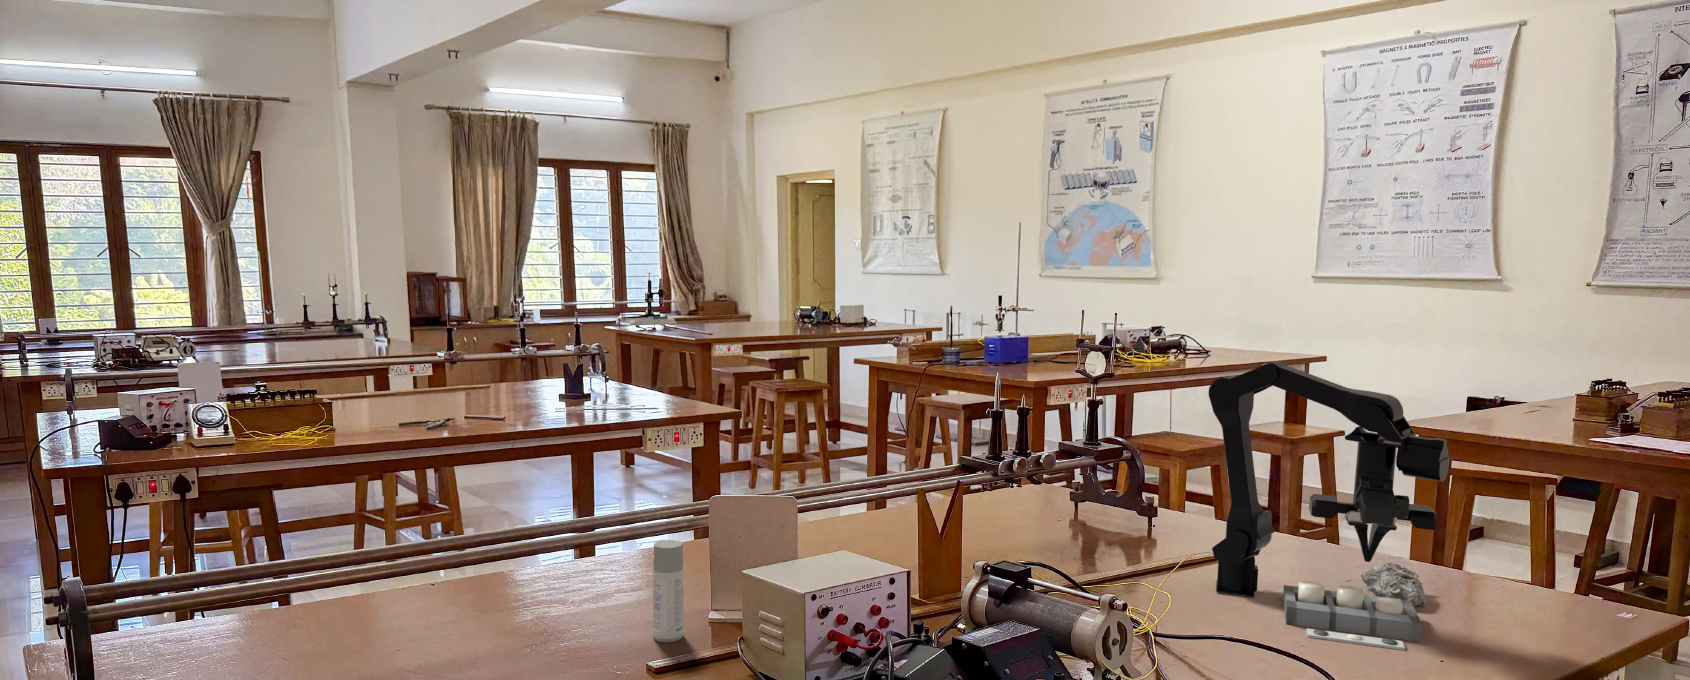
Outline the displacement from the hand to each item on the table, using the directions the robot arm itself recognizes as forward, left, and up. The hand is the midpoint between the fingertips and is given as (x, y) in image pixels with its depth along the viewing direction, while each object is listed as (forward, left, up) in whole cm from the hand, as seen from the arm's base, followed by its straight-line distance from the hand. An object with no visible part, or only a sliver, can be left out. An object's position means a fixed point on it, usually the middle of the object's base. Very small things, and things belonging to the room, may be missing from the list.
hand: (1367, 561), depth 173 cm
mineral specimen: (+7, +16, -11) cm, 20 cm away
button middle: (-2, 0, -9) cm, 9 cm away
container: (-104, -51, -11) cm, 117 cm away
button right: (+4, 0, -10) cm, 11 cm away
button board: (-2, 0, -11) cm, 11 cm away
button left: (-8, 0, -9) cm, 12 cm away
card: (-2, -10, -11) cm, 14 cm away
